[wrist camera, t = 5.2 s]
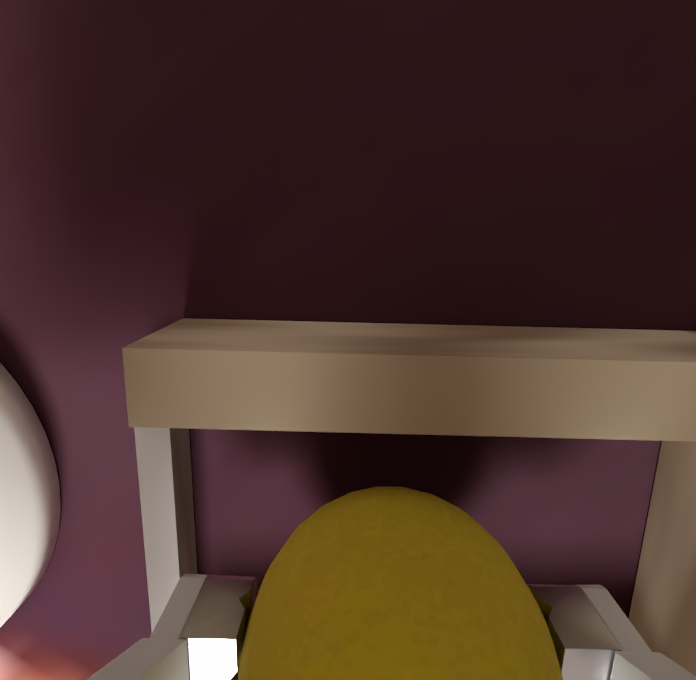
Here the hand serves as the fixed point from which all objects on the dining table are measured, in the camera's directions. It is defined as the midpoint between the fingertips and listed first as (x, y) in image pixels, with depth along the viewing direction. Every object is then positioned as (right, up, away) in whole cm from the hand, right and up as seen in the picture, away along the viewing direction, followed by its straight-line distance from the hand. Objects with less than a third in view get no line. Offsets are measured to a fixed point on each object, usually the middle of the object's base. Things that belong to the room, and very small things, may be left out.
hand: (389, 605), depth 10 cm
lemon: (0, +1, +3) cm, 3 cm away
